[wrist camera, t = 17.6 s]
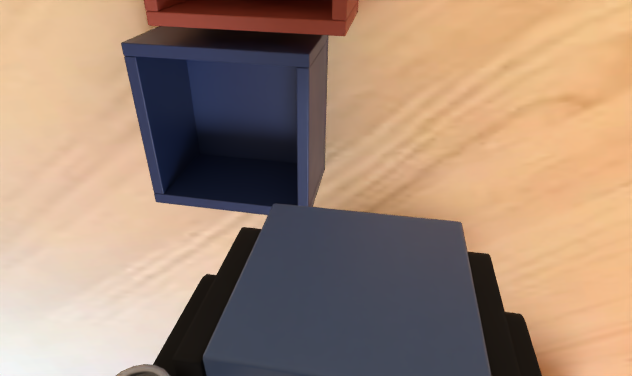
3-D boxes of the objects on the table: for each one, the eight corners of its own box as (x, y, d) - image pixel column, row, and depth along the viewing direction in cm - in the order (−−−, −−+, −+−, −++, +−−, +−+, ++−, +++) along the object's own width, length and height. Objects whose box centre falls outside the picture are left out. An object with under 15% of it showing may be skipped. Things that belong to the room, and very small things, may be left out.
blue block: (273, 201, 10) (200, 357, 7) (462, 220, 10) (498, 403, 6) (280, 326, 13) (229, 493, 9) (433, 348, 12) (447, 537, 8)
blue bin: (174, 19, 24) (120, 42, 19) (328, 27, 23) (309, 54, 18) (195, 157, 29) (155, 202, 24) (324, 169, 27) (308, 220, 23)
